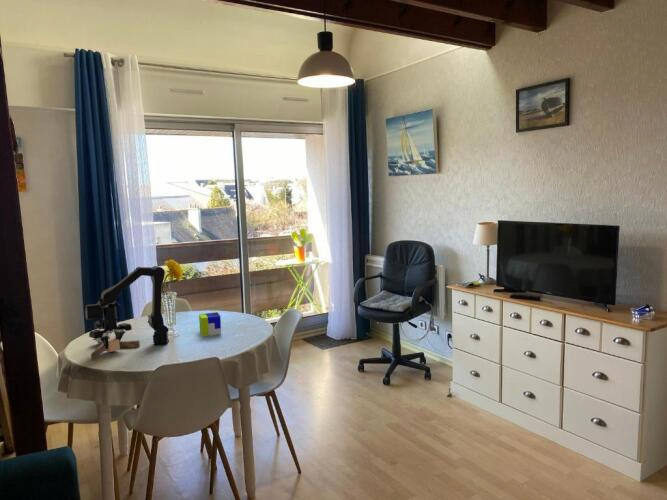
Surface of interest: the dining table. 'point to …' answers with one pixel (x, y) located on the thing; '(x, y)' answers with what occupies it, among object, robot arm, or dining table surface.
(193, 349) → the dining table surface
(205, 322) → the puzzle toy
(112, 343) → the cube
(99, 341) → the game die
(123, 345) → the arena
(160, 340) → the robot arm
